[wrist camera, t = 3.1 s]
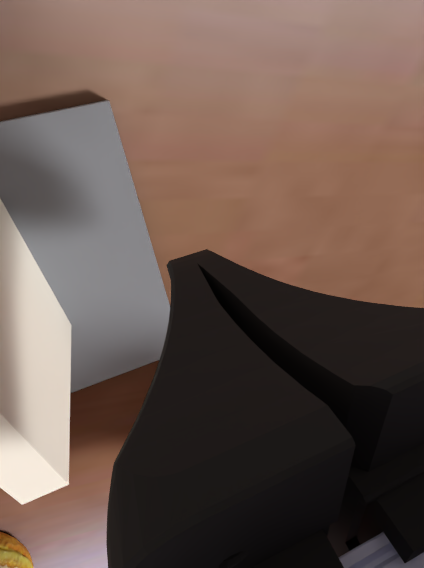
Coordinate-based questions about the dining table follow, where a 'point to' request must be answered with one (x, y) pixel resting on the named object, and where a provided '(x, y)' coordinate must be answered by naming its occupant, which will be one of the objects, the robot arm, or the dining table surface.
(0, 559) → the decorated donut
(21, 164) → the mat
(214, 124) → the dining table surface
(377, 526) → the robot arm
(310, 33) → the dining table surface
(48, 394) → the tile
